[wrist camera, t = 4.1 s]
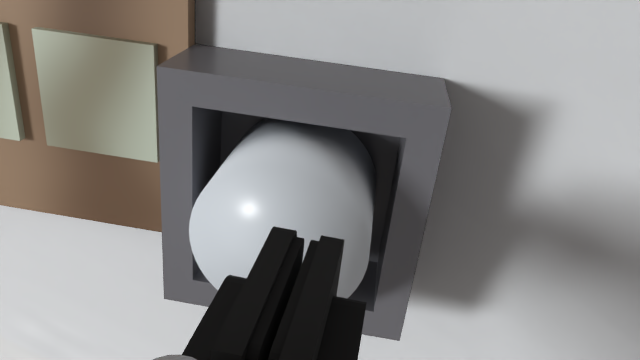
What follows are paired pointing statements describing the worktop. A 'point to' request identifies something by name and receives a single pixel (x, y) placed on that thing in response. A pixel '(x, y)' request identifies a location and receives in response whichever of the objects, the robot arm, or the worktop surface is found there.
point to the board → (86, 105)
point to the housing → (312, 108)
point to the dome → (286, 199)
